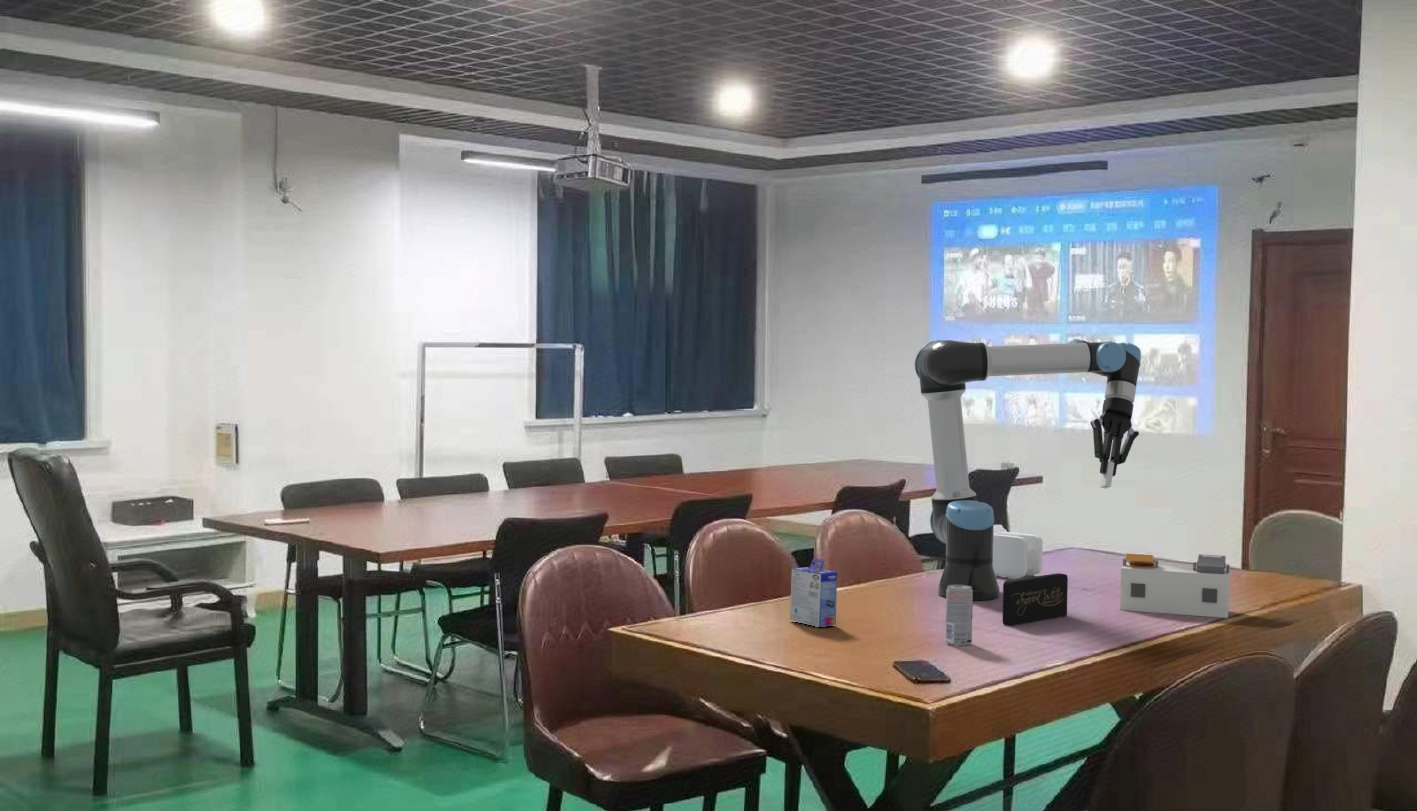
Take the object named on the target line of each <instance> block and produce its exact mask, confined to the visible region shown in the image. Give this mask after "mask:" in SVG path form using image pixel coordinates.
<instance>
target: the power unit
mask: <svg viewBox="0 0 1417 811" xmlns="http://www.w3.org/2000/svg"><path fill="white" fill-rule="evenodd" d="M1230 566H1231V565H1230V564H1227V563H1226V567H1225V571H1224V574H1219V573H1204V572H1197V561H1196V562H1193V563H1192V566H1181V565H1165V564H1159V559H1155V565H1141V564H1129V563H1128V562H1127V561H1126V557H1123V558H1122V566H1121V568H1120V596H1119V598H1120V600H1119V602H1120V604H1119V605H1120V606H1119V607H1120V609H1119V610H1120V611H1132V612H1144V613H1159V614H1171V615H1182V616H1183V615H1184V616H1193V617H1194V616H1198V617H1210V618H1221V619H1228V618H1229V612H1230V585H1231V584H1230V582H1231V581H1230V580H1231V579H1230V578H1231V576H1230V575H1231V571H1230V570H1231V569H1230Z"/></svg>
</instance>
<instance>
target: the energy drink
mask: <svg viewBox="0 0 1417 811" xmlns="http://www.w3.org/2000/svg"><path fill="white" fill-rule="evenodd" d="M945 601H946V603H945V608H946V609H945V643H946V644H947V643H948V644H952V645H959V646H958V647H966V646H965V645H969V646H971V645H972V643H973V641H972V640H973V639H972V638H973V601H974V600H973V591H972V587H971V586H967V585H948V588H947V591H946V597H945ZM948 644H947V645H948ZM952 645H951V646H952Z"/></svg>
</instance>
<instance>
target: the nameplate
mask: <svg viewBox="0 0 1417 811" xmlns="http://www.w3.org/2000/svg"><path fill="white" fill-rule="evenodd" d="M1068 579H1069V578H1068V575H1067V574H1066V573H1059V572H1057V573H1051V574H1050V573H1049V574H1044V575H1038V576H1036V575H1034V576H1027V577H1021V578H1019V579H1008V580H1005V581H1004V582H1003V585H1002V624H1003V625H1005V626H1010V627H1013V626H1018V625H1024V624H1030V623H1031V624H1032V623H1035V622H1041V621H1047V620H1053V619H1058V618H1064V617H1066V616H1067V614H1068V589H1069V588H1068V587H1069V586H1068V581H1069V580H1068Z"/></svg>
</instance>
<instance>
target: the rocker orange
mask: <svg viewBox="0 0 1417 811" xmlns="http://www.w3.org/2000/svg"><path fill="white" fill-rule="evenodd" d="M1125 558H1126V563H1129V564H1141V565H1155V560H1156V558H1155V556H1154V555H1153V554H1140V553H1126V555H1125Z"/></svg>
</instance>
